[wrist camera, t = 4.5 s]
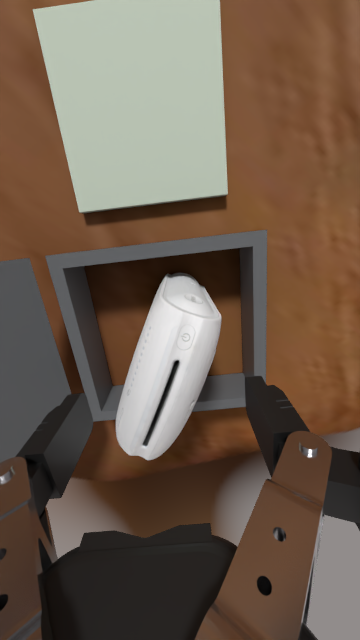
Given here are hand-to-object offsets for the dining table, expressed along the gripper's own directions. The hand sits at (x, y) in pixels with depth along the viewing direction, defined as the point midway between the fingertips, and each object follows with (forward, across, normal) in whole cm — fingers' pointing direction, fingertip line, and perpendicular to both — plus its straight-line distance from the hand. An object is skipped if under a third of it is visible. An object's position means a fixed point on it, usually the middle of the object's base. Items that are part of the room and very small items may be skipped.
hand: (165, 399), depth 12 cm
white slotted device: (+12, 0, 0) cm, 12 cm away
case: (+12, 0, 0) cm, 12 cm away
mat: (+12, 0, -16) cm, 20 cm away
